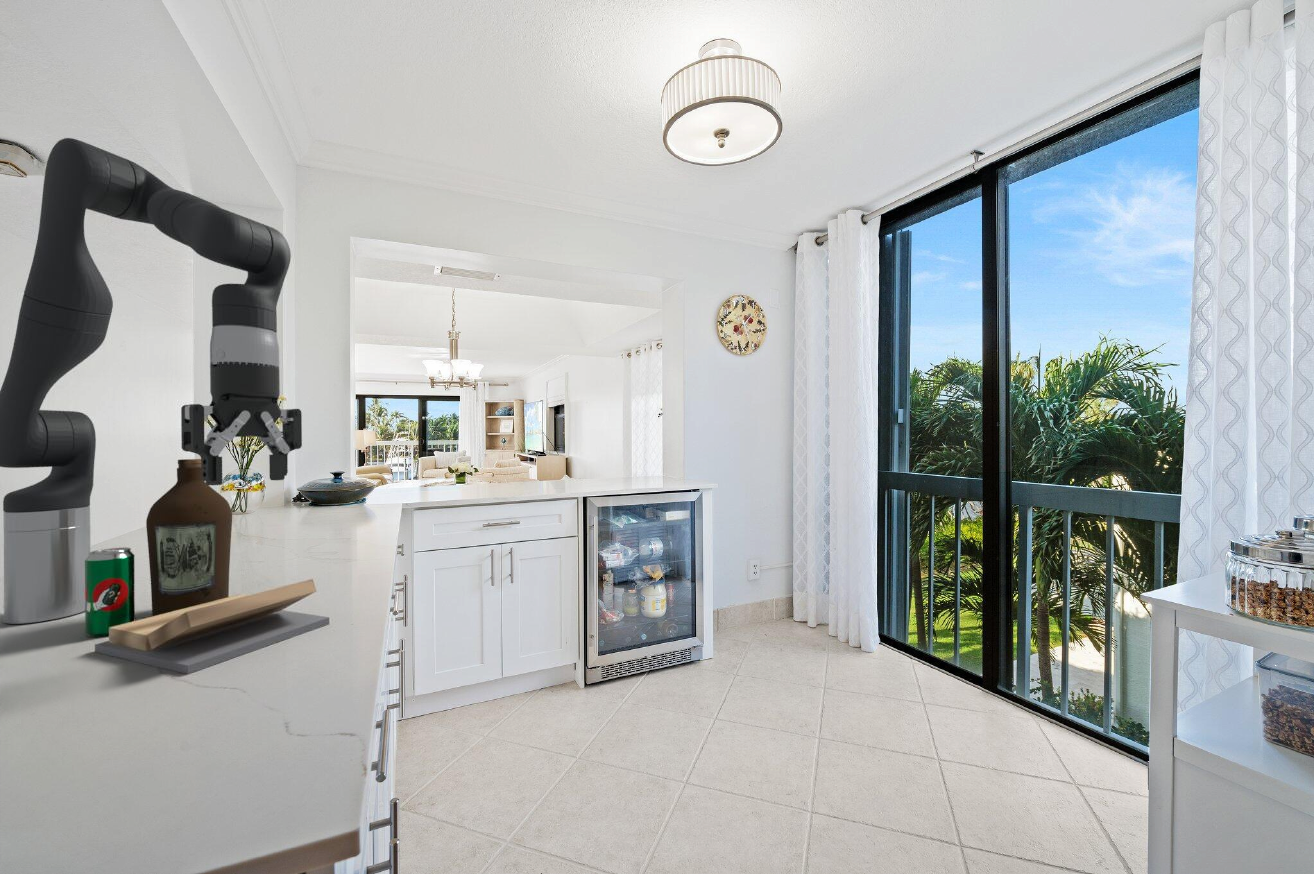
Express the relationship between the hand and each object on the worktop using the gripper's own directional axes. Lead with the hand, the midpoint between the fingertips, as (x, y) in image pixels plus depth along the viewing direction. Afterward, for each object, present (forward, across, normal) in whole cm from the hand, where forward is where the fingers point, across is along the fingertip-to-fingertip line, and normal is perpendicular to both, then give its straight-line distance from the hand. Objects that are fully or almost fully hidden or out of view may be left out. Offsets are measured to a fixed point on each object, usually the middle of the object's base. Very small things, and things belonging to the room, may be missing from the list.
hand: (247, 482), depth 72 cm
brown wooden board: (+19, 0, -2) cm, 19 cm away
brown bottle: (+22, -6, -25) cm, 34 cm away
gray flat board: (+22, 0, -7) cm, 23 cm away
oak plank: (+22, 0, -11) cm, 25 cm away
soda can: (+22, +4, -24) cm, 33 cm away
